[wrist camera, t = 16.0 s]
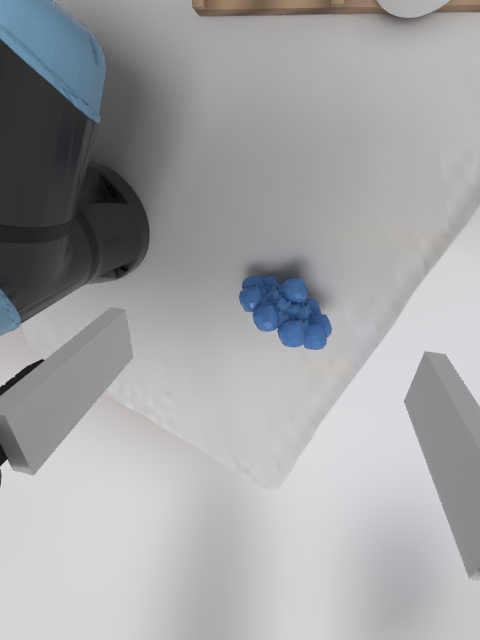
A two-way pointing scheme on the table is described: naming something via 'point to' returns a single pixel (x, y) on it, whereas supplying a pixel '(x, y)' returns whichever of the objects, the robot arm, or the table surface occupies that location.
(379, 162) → the table surface
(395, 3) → the mug
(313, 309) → the grapes
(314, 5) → the ledge board
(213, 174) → the table surface
